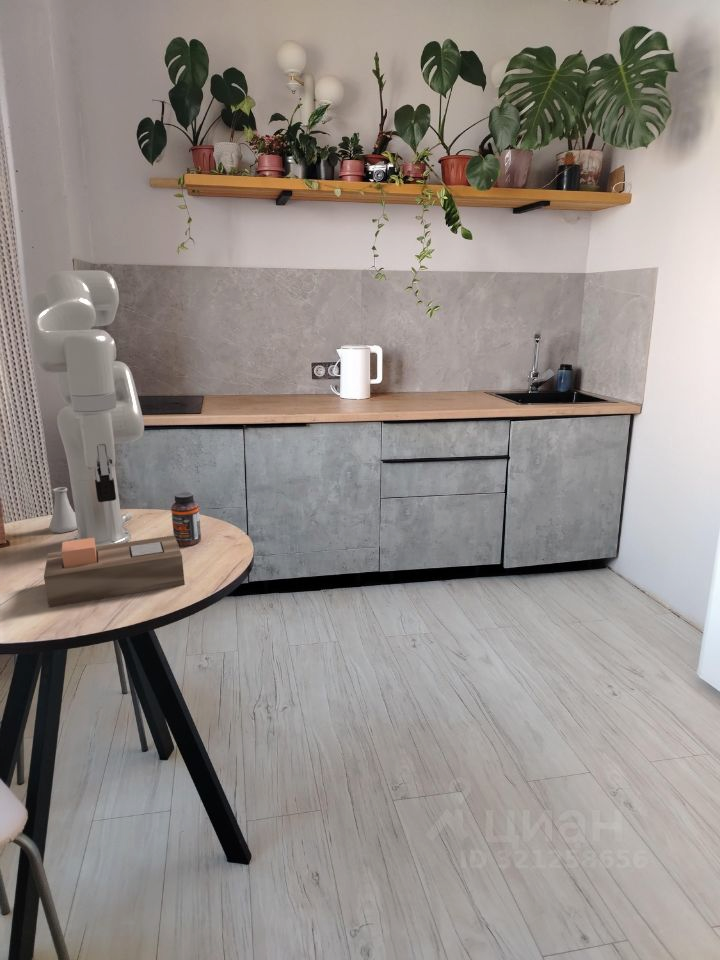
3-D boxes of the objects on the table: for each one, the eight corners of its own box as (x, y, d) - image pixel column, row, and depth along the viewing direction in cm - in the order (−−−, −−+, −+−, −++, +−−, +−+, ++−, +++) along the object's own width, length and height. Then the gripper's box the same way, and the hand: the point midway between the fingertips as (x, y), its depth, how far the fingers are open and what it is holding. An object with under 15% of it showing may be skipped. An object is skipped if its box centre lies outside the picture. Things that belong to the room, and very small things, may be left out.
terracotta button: (66, 566, 129) (62, 541, 127) (97, 561, 131) (94, 537, 129) (65, 577, 124) (61, 552, 122) (97, 572, 126) (94, 547, 124)
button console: (52, 581, 131) (47, 553, 130) (177, 562, 140) (174, 535, 138) (48, 607, 121) (43, 576, 119) (184, 584, 129) (181, 555, 127)
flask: (72, 521, 167) (66, 483, 164) (87, 527, 162) (82, 487, 159) (43, 529, 161) (37, 490, 159) (58, 535, 157) (52, 495, 154)
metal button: (133, 569, 134) (130, 546, 132) (162, 565, 135) (159, 542, 134) (135, 580, 129) (132, 556, 127) (165, 575, 130) (162, 551, 129)
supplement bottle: (170, 546, 149) (165, 497, 145) (180, 537, 154) (175, 490, 151) (196, 547, 148) (191, 498, 145) (205, 537, 154) (201, 490, 150)
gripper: (70, 399, 126) (83, 492, 131) (73, 411, 113) (88, 514, 118) (112, 395, 129) (123, 487, 134) (120, 407, 116) (132, 508, 121)
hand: (106, 499), depth 126 cm, fingers closed
